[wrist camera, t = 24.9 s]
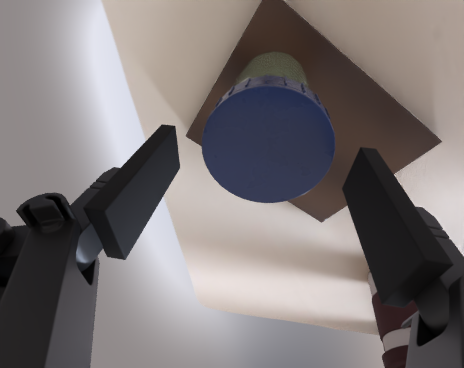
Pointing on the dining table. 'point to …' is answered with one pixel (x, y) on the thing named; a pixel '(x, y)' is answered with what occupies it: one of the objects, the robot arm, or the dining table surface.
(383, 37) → the dining table surface
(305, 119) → the lid
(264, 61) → the jar
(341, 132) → the board
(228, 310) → the dining table surface
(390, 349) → the coffee cup
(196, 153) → the dining table surface
